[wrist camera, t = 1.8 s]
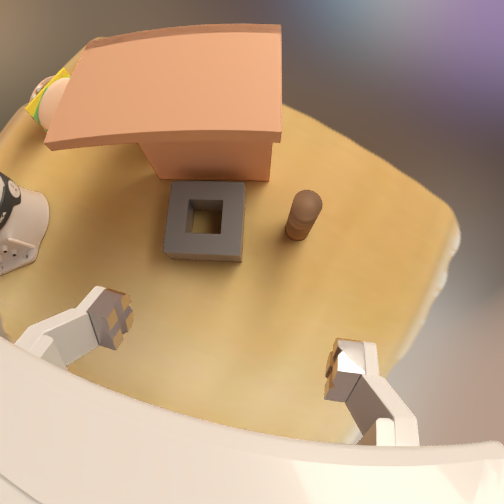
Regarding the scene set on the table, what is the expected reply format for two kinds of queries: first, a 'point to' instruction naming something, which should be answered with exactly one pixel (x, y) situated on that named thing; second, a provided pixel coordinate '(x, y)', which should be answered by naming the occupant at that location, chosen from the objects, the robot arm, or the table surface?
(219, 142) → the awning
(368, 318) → the table surface
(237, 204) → the socket
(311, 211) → the peg
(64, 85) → the hamburger
